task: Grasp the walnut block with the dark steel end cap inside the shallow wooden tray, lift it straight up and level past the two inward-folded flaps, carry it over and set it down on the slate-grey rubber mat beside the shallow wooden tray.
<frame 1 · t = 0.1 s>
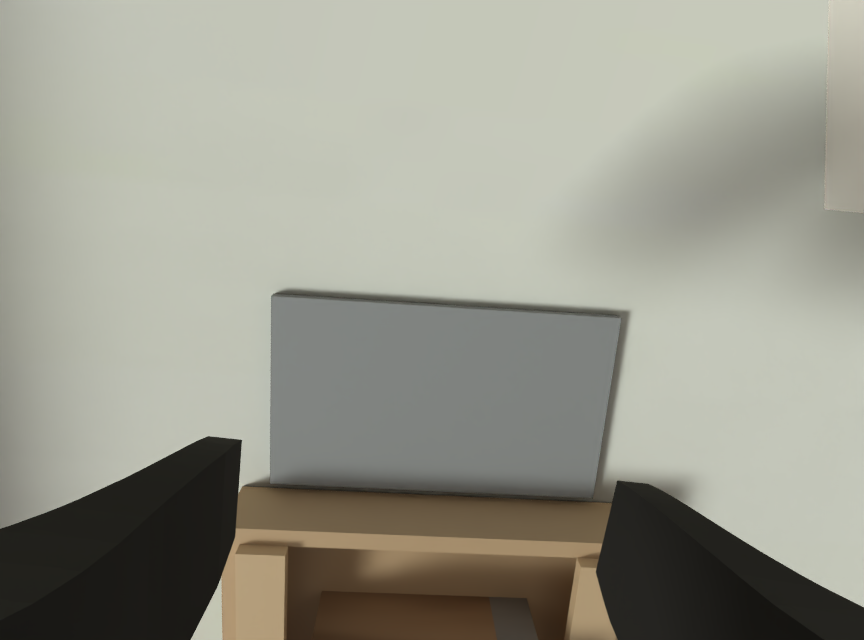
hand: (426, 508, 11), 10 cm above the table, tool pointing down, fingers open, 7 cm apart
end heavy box: (421, 637, 23), resting on shallow wooden tray
shallow wooden tray: (421, 629, 24), on the table
mat: (440, 398, 21), on the table
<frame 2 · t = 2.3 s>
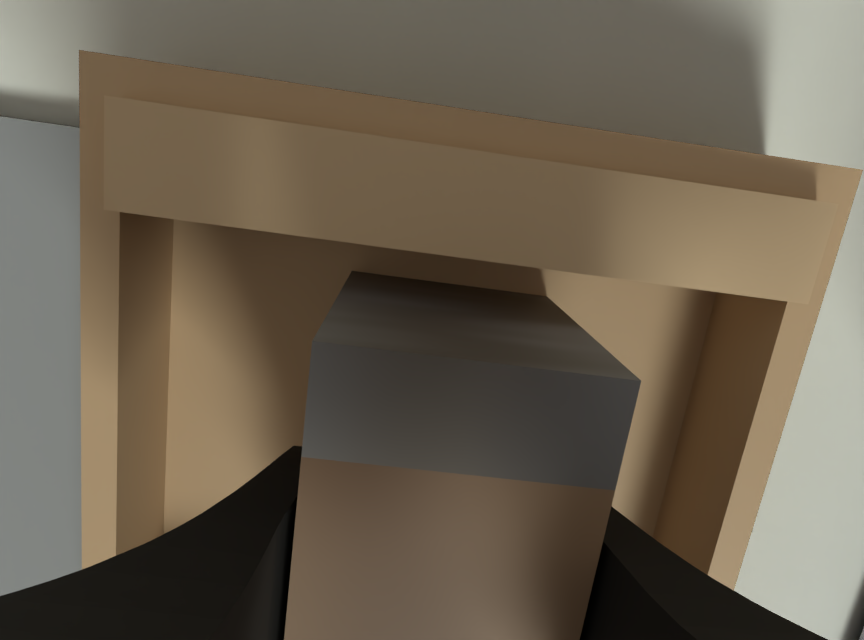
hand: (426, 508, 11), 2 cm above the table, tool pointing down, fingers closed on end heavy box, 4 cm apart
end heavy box: (423, 462, 13), resting on shallow wooden tray, touching gripper
shallow wooden tray: (423, 453, 13), on the table
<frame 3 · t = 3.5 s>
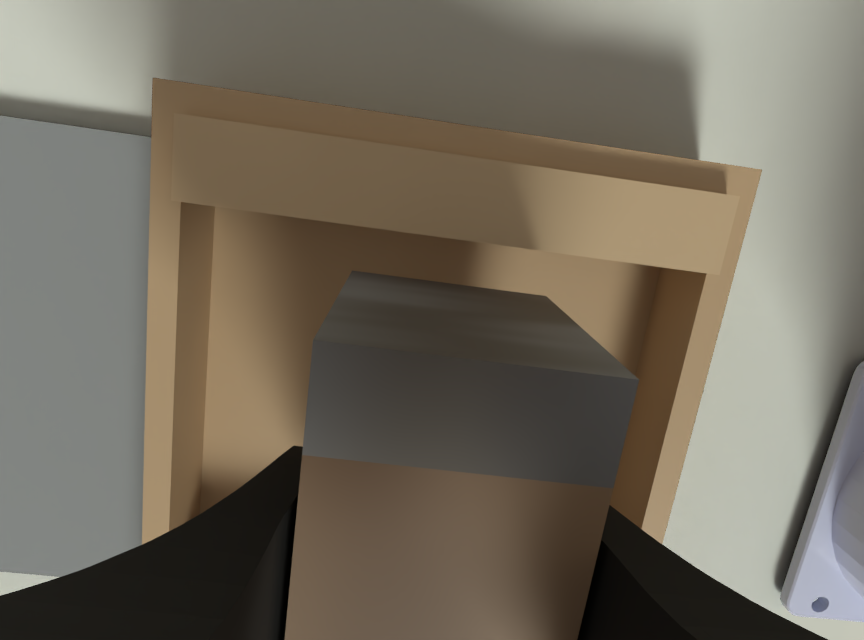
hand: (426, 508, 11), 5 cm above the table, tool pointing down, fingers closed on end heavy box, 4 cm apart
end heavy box: (423, 461, 13), point 3 cm above the table, touching gripper
shallow wooden tray: (418, 407, 16), on the table
mat: (32, 363, 15), on the table
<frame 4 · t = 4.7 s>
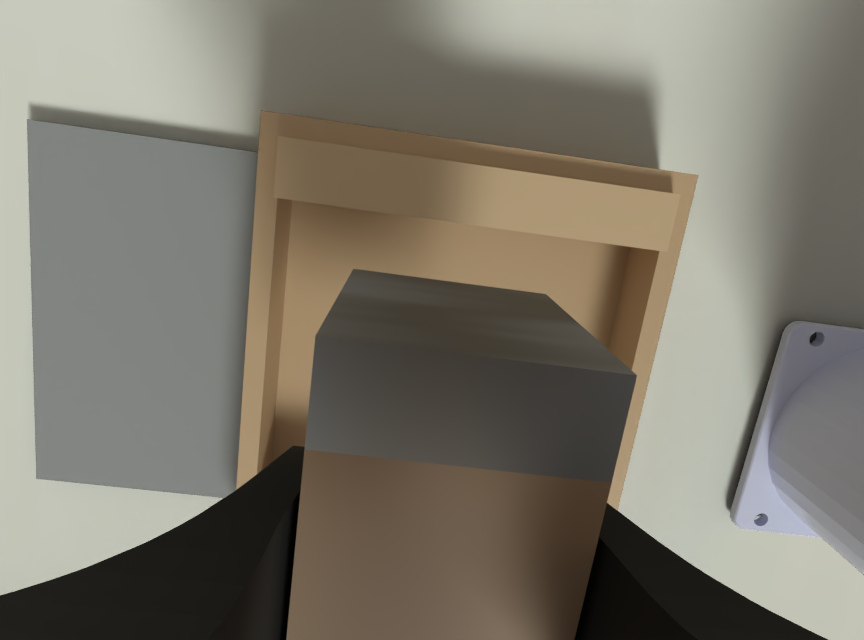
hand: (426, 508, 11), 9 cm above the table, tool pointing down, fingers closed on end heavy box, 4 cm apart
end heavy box: (424, 457, 13), point 7 cm above the table, touching gripper
shallow wooden tray: (443, 358, 20), on the table
mat: (148, 322, 20), on the table
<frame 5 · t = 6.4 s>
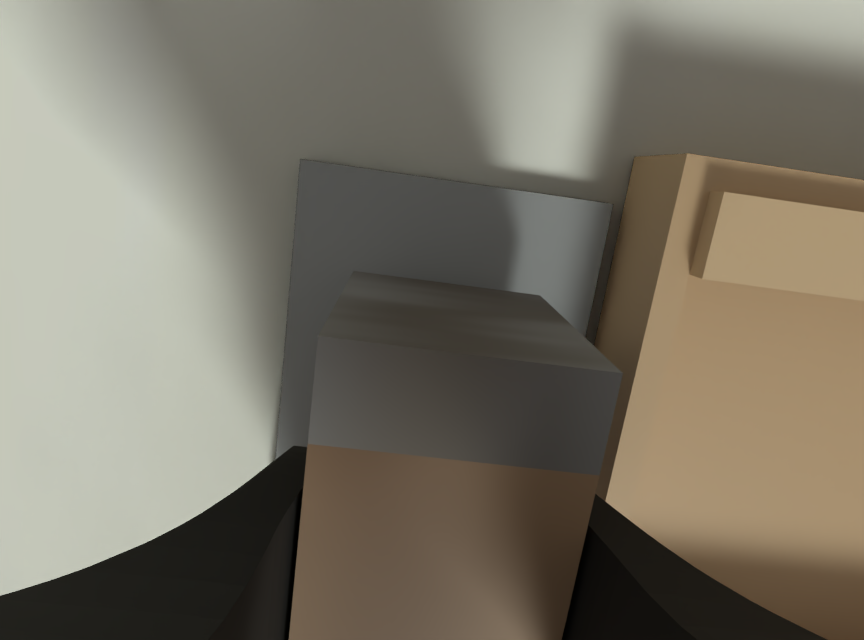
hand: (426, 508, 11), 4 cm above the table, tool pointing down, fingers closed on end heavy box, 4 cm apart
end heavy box: (422, 454, 13), point 1 cm above the table, touching gripper
shallow wooden tray: (798, 466, 15), on the table
mat: (422, 424, 15), on the table
when the fingers open (3 cm above the table, at t = 7.4 s): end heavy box stays where it is, resting on mat.
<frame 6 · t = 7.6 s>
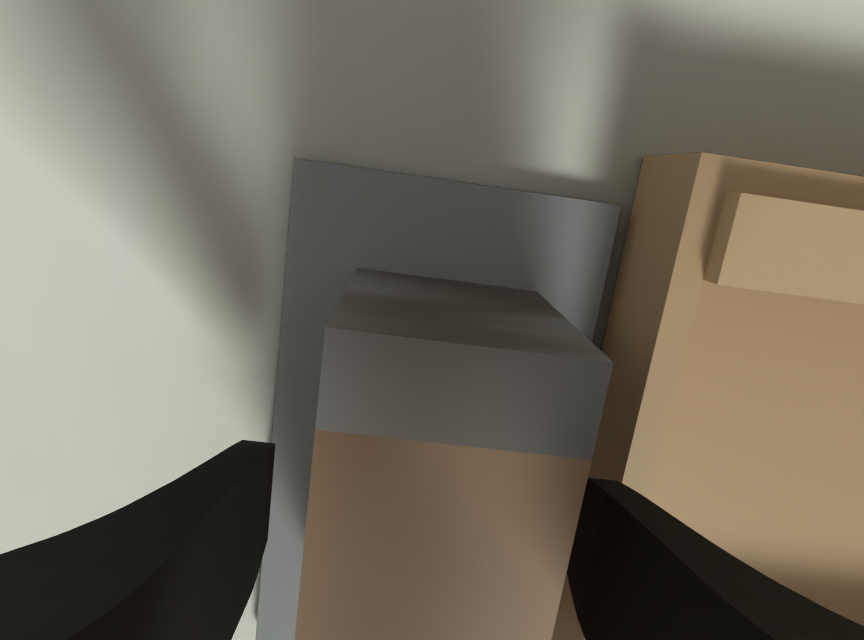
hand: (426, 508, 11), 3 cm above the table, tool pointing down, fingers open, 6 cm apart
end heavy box: (423, 445, 14), resting on mat
shallow wooden tray: (812, 477, 15), on the table
mat: (422, 434, 14), on the table
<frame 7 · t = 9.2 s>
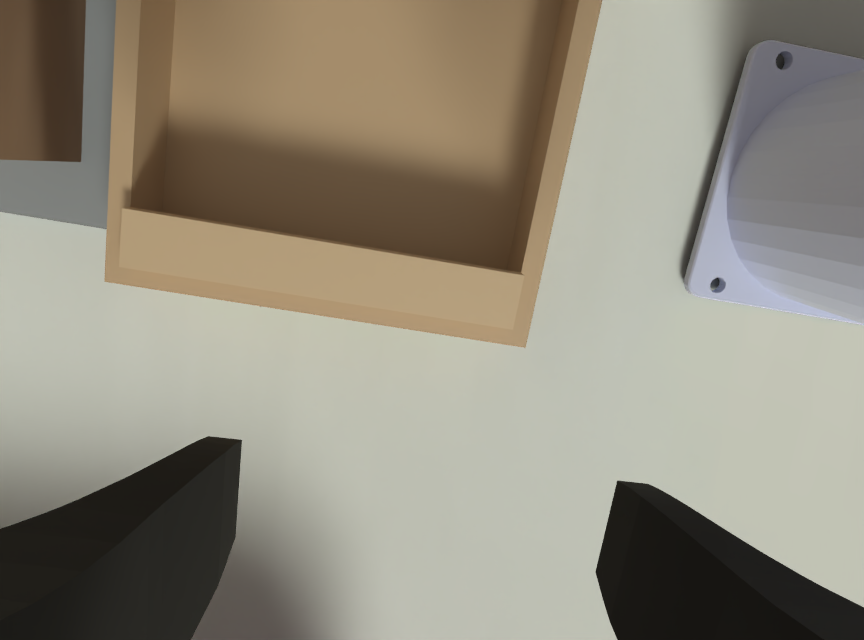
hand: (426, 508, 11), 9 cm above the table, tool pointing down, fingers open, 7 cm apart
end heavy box: (12, 6, 17), resting on mat
shallow wooden tray: (362, 71, 18), on the table
mat: (20, 6, 17), on the table
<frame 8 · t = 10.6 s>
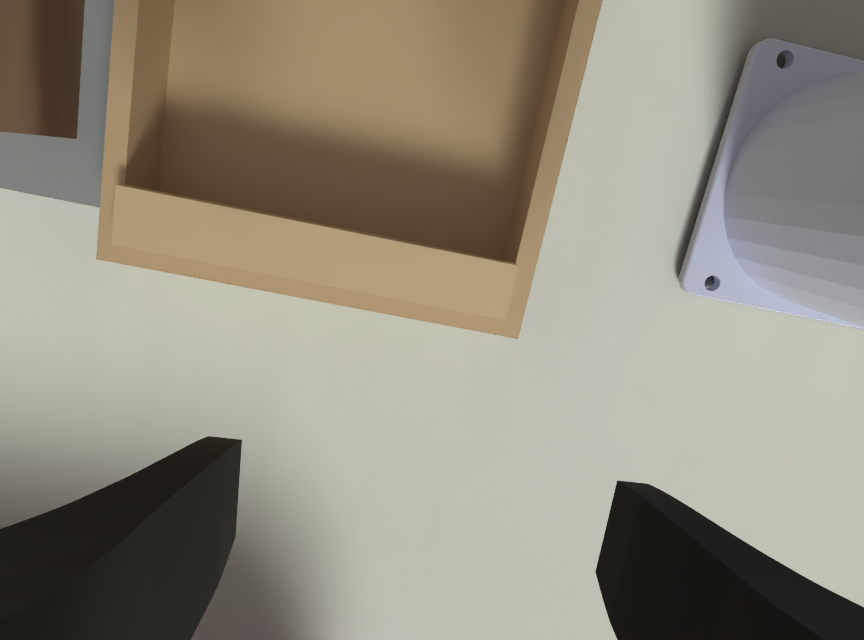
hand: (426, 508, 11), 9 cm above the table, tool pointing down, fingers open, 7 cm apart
shallow wooden tray: (363, 57, 18), on the table
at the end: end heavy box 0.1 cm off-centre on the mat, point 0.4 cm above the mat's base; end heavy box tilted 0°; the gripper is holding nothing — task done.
